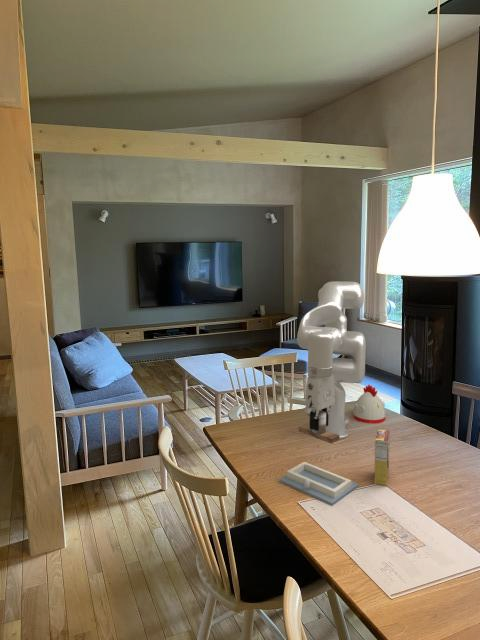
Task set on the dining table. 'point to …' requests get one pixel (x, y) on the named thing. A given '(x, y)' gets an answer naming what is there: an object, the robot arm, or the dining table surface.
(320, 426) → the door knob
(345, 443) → the dining table surface
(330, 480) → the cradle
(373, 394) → the kitchen timer
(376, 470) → the candy box
